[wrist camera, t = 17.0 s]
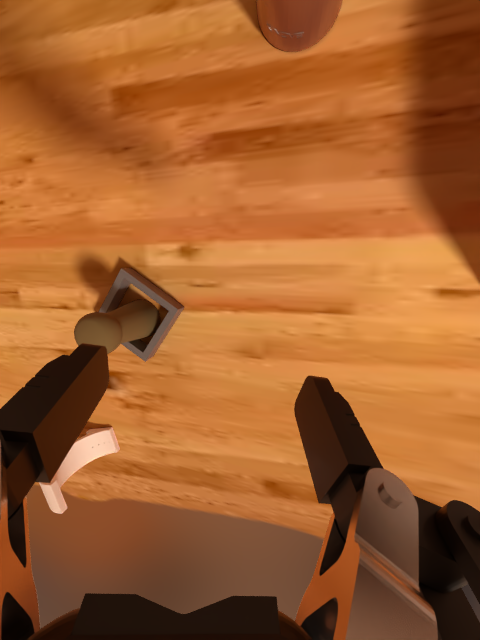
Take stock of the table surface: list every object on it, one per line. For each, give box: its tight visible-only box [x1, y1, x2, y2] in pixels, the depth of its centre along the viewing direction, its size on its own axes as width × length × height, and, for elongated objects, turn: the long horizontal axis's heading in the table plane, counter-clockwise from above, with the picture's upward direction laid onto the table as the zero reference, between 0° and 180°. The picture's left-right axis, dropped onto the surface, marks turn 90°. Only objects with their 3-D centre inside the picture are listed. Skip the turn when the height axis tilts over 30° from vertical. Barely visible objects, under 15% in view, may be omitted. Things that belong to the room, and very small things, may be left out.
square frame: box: [99, 268, 184, 362], centre depth 36 cm, size 10×10×2 cm
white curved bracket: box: [39, 427, 120, 514], centre depth 38 cm, size 5×6×12 cm
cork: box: [74, 299, 160, 354], centre depth 32 cm, size 6×6×11 cm
